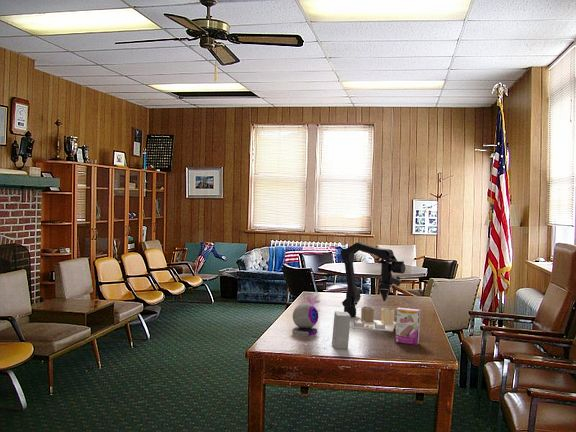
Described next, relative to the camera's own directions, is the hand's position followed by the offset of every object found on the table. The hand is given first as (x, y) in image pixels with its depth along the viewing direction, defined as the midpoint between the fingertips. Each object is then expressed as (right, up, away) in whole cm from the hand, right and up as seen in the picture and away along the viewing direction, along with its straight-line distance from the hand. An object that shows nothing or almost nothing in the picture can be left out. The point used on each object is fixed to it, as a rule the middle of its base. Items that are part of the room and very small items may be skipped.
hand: (385, 299), depth 331 cm
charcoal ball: (-10, -6, -2) cm, 12 cm away
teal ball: (+1, -6, -5) cm, 8 cm away
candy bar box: (+3, -15, -46) cm, 48 cm away
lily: (-41, -11, +27) cm, 51 cm away
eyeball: (-46, -13, -31) cm, 57 cm away
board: (-7, -13, -10) cm, 17 cm away
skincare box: (-30, -14, -57) cm, 66 cm away
